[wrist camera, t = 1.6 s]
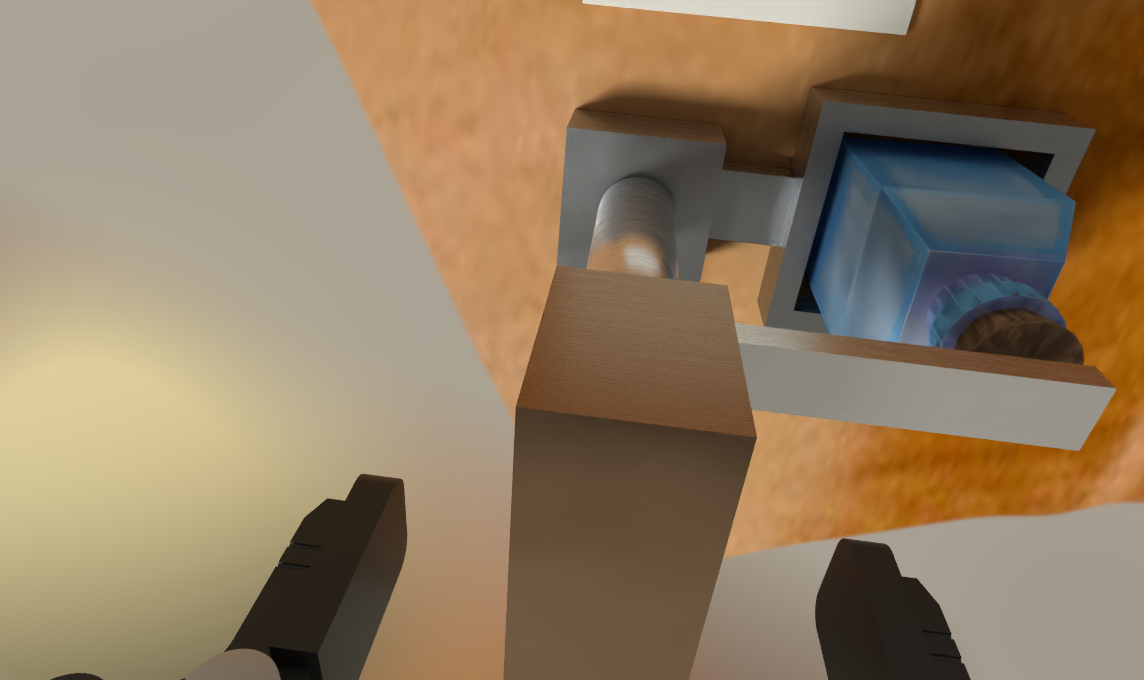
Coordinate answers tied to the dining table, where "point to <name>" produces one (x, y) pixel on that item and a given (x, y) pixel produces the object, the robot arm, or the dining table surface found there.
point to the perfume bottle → (942, 250)
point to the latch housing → (781, 177)
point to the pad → (792, 11)
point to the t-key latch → (698, 440)
